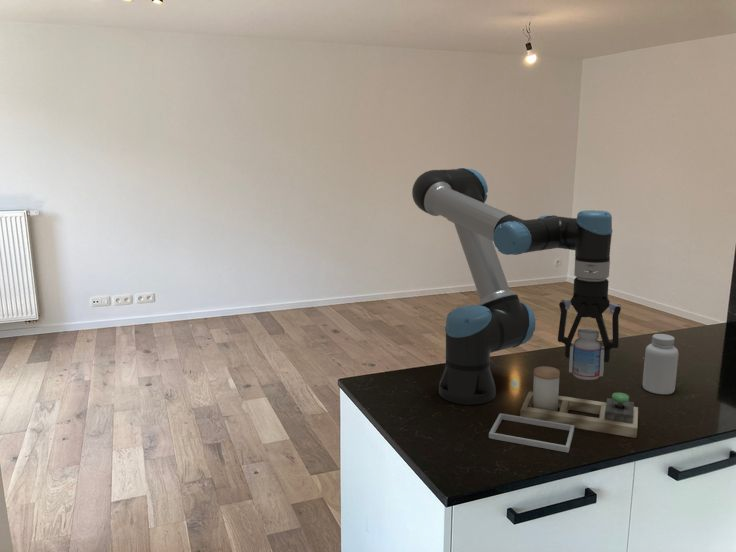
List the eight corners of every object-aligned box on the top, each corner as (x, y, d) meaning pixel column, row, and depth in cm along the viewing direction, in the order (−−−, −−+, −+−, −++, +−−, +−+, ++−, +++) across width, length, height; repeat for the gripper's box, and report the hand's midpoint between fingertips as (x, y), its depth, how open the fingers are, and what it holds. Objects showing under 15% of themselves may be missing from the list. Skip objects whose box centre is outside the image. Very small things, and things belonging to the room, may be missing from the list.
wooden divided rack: (520, 418, 144) (520, 401, 143) (528, 399, 155) (529, 384, 154) (636, 438, 134) (638, 420, 133) (637, 416, 144) (638, 399, 143)
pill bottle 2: (677, 396, 155) (682, 342, 152) (643, 393, 158) (648, 339, 155) (672, 385, 162) (677, 333, 159) (640, 382, 165) (644, 330, 162)
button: (611, 408, 139) (612, 397, 138) (612, 402, 142) (612, 391, 142) (627, 410, 137) (628, 399, 137) (628, 404, 141) (629, 393, 140)
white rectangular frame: (488, 438, 135) (488, 433, 135) (499, 417, 145) (499, 413, 145) (568, 452, 128) (568, 447, 128) (574, 430, 138) (574, 425, 138)
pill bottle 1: (601, 381, 138) (604, 335, 136) (574, 380, 139) (576, 334, 137) (597, 372, 144) (599, 327, 142) (570, 370, 145) (573, 326, 143)
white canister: (530, 415, 146) (531, 373, 144) (534, 405, 152) (536, 365, 149) (555, 419, 144) (558, 376, 141) (559, 409, 149) (561, 368, 147)
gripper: (546, 278, 137) (542, 372, 142) (636, 284, 129) (629, 383, 134) (550, 272, 144) (547, 362, 149) (636, 277, 136) (630, 372, 141)
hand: (586, 372), depth 141 cm, fingers closed on pill bottle 1, 6 cm apart
